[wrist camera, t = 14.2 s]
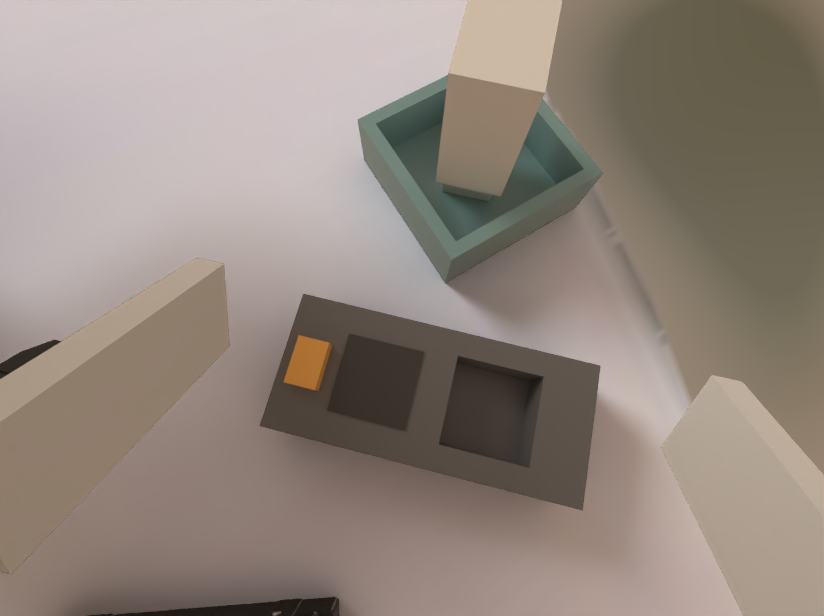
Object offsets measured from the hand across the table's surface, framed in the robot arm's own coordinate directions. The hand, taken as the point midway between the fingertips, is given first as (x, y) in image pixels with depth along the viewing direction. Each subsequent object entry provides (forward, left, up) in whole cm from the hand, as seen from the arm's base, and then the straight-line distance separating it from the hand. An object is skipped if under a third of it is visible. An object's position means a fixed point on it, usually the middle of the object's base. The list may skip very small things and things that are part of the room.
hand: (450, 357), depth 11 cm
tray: (-10, +10, -14) cm, 20 cm away
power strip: (+1, 0, -14) cm, 14 cm away
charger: (-10, +10, -13) cm, 19 cm away
